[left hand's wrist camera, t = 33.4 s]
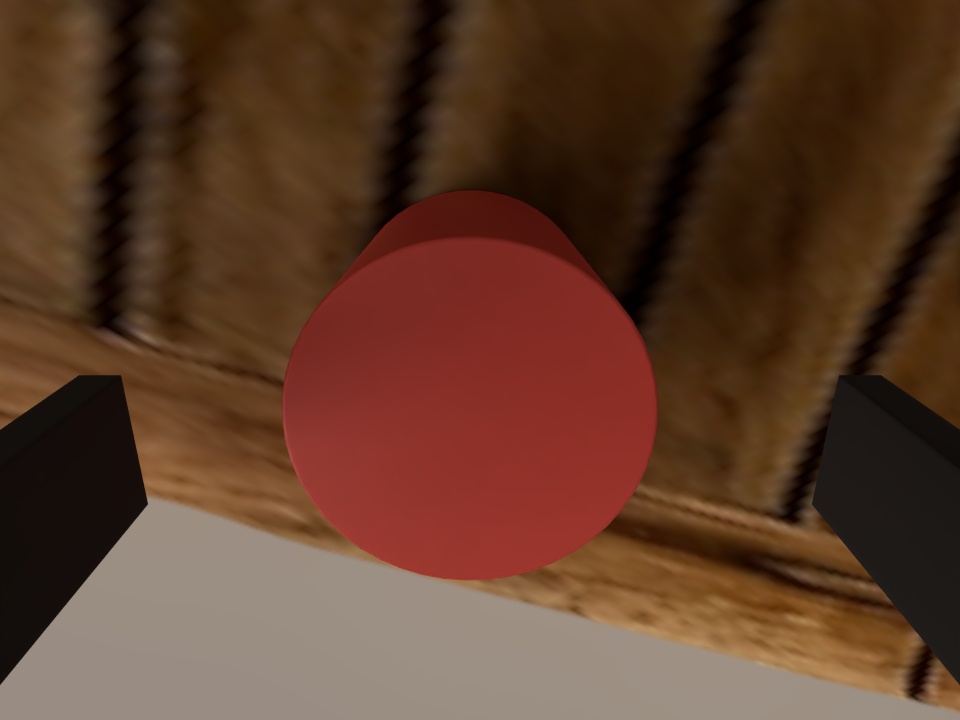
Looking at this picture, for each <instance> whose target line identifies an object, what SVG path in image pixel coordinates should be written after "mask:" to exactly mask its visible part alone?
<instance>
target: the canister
mask: <svg viewBox="0 0 960 720" xmlns="http://www.w3.org/2000/svg"><path fill="white" fill-rule="evenodd" d="M658 407H659V406H658V393H657V383H656V378H655V374H654V369H653V365H652V361H651V358H650V356H649V353H648V351H647V348H646V345H645V343H644V340H643V338H642V336H641V335H640V333H639V331H638V329H637V327H636V326H635V324H634V322H633V320H632V319H631V317H630V316H629V315H628V313H627V312H626V311H625V309H624V308H623V307H622V306H621V304H620V303H619V302H618V300H617V299H616V298H615V297H614V295H613V294H612V293H611V292H610V290H609V289H608V288H607V287H606V285H605V284H604V283H603V282H602V280H601V279H600V278H599V277H598V275H597V274H596V273H595V272H594V270H593V269H592V268H591V267H590V265H589V264H588V263H587V262H586V260H585V259H584V258H583V257H582V255H581V254H580V253H579V252H578V250H577V249H576V248H575V247H574V245H573V244H572V243H571V242H570V240H569V239H568V238H567V237H566V235H565V234H564V233H563V232H562V230H561V229H560V228H559V227H558V226H557V225H556V224H555V223H554V222H553V221H552V220H550V219H549V218H548V217H547V216H545V215H544V214H543V213H541V212H540V211H539V210H537V209H535V208H533V207H532V206H530V205H528V204H526V203H524V202H523V201H520V200H517V199H515V198H512V197H510V196H507V195H503V194H498V193H494V192H488V191H478V190H466V191H454V192H448V193H442V194H439V195H436V196H433V197H429V198H426V199H424V200H422V201H420V202H418V203H416V204H413V205H411V206H410V207H408V208H407V209H405V210H404V211H402V212H401V213H399V214H398V215H396V216H395V217H394V218H393V219H392V220H391V221H389V222H388V223H387V224H386V225H385V226H384V227H383V228H382V229H381V231H380V232H379V233H378V234H377V235H376V236H375V237H374V239H373V240H372V241H371V242H370V244H369V245H368V246H367V247H366V248H365V250H364V251H363V252H362V253H361V254H360V256H359V257H358V258H357V259H356V261H355V262H354V263H353V264H352V265H351V267H350V268H349V269H348V270H347V271H346V273H345V274H344V275H343V276H342V277H341V279H340V280H339V281H338V282H337V284H336V285H335V286H334V287H333V288H332V290H331V291H330V292H329V293H328V294H327V296H326V297H325V298H324V299H323V301H322V302H321V303H320V304H319V305H318V307H317V308H316V309H315V311H314V312H313V314H312V315H311V317H310V318H309V320H308V321H307V323H306V324H305V326H304V327H303V329H302V331H301V333H300V335H299V337H298V339H297V342H296V344H295V346H294V348H293V350H292V353H291V356H290V360H289V363H288V366H287V370H286V373H285V380H284V386H283V393H282V422H283V429H284V436H285V442H286V445H287V449H288V452H289V455H290V459H291V462H292V465H293V467H294V469H295V471H296V474H297V476H298V478H299V480H300V483H301V484H302V486H303V488H304V489H305V491H306V493H307V494H308V496H309V497H310V499H311V501H312V502H313V504H314V505H315V506H316V507H317V508H318V510H319V511H320V512H321V513H322V515H323V516H324V517H325V518H326V519H327V520H328V521H329V522H330V523H331V524H332V525H333V526H334V527H335V528H336V529H337V530H338V531H339V532H340V533H341V534H342V535H343V536H345V537H346V538H348V539H349V540H350V541H352V542H353V543H354V544H356V545H357V546H358V547H360V548H361V549H363V550H365V551H366V552H368V553H370V554H372V555H373V556H375V557H377V558H378V559H380V560H383V561H385V562H387V563H390V564H392V565H394V566H397V567H399V568H402V569H405V570H408V571H412V572H415V573H418V574H421V575H427V576H432V577H437V578H443V579H455V580H488V579H495V578H502V577H510V576H514V575H518V574H521V573H525V572H529V571H533V570H535V569H538V568H541V567H543V566H546V565H548V564H551V563H553V562H555V561H557V560H559V559H561V558H563V557H565V556H567V555H569V554H571V553H573V552H574V551H576V550H577V549H579V548H580V547H582V546H583V545H585V544H586V543H588V542H589V541H591V540H592V539H593V538H594V537H595V536H596V535H598V534H599V533H600V532H601V531H602V530H603V529H604V528H606V527H607V526H608V525H609V524H610V523H611V521H612V520H613V519H614V518H615V517H616V516H617V515H618V514H619V513H620V511H621V510H622V509H623V508H624V506H625V505H626V503H627V502H628V501H629V499H630V498H631V496H632V495H633V493H634V492H635V490H636V488H637V486H638V484H639V482H640V480H641V478H642V477H643V475H644V473H645V470H646V467H647V465H648V462H649V459H650V456H651V453H652V451H653V446H654V441H655V436H656V432H657V422H658Z"/></svg>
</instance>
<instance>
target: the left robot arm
mask: <svg viewBox="0 0 960 720" xmlns="http://www.w3.org/2000/svg"><path fill="white" fill-rule="evenodd" d="M147 505H148V502H147V497H146V492H145V488H144V483H143V478H142V473H141V468H140V464H139V459H138V454H137V449H136V445H135V440H134V435H133V430H132V426H131V421H130V416H129V411H128V407H127V402H126V397H125V392H124V388H123V383H122V378H121V375H79V376H77V377H76V378H75V379H73V380H72V381H70V382H69V383H67V384H66V385H64V386H63V387H62V388H60V389H59V390H57V391H56V392H54V393H53V394H51V395H50V396H48V397H47V398H46V399H44V400H43V401H41V402H40V403H38V404H37V405H35V406H34V407H33V408H31V409H30V410H28V411H27V412H25V413H24V414H22V415H21V416H20V417H18V418H17V419H15V420H14V421H12V422H11V423H9V424H8V425H7V426H5V427H4V428H2V429H1V430H0V685H1V683H2V682H3V681H4V680H5V678H6V677H7V676H8V675H9V673H10V672H11V671H12V670H13V669H14V667H15V666H16V665H17V664H18V663H19V661H20V660H21V659H22V658H23V656H24V655H25V654H26V653H27V651H28V650H29V649H30V648H31V647H32V645H33V644H34V643H35V642H36V640H37V639H38V638H39V637H40V636H41V634H42V633H43V632H44V631H45V629H46V628H47V627H48V626H49V625H50V623H51V622H52V621H53V620H54V618H55V617H56V616H57V615H58V614H59V612H60V611H61V610H62V609H63V607H64V606H65V605H66V604H67V603H68V601H69V600H70V599H71V598H72V597H73V595H74V594H75V593H76V592H77V590H78V589H79V588H80V587H81V585H82V584H83V583H84V582H85V581H86V579H87V578H88V577H89V576H90V575H91V573H92V572H93V571H94V570H95V568H96V567H97V566H98V565H99V564H100V562H101V561H102V560H103V559H104V557H105V556H106V555H107V554H108V552H109V551H110V550H111V549H112V548H113V546H114V545H115V544H116V543H117V541H118V540H119V539H120V538H121V537H122V535H123V534H124V533H125V532H126V531H127V529H128V528H129V527H130V526H131V524H132V523H133V522H134V521H135V519H136V518H137V517H138V516H139V515H140V513H141V512H142V511H143V510H144V508H145V507H146V506H147ZM812 505H813V506H814V507H815V508H816V510H817V511H818V512H819V513H820V515H821V516H822V517H823V518H824V519H825V521H826V522H827V523H828V524H829V526H830V527H831V528H832V529H833V531H834V532H835V533H836V534H837V535H838V537H839V538H840V539H841V540H842V542H843V543H844V544H845V545H846V546H847V548H848V549H849V550H850V551H851V553H852V554H853V555H854V556H855V557H856V559H857V560H858V561H859V562H860V564H861V565H862V566H863V567H864V568H865V570H866V571H867V572H868V573H869V575H870V576H871V577H872V578H873V579H874V581H875V582H876V583H877V584H878V586H879V587H880V588H881V589H882V590H883V592H884V593H885V594H886V595H887V597H888V598H889V599H890V600H891V601H892V603H893V604H894V605H895V606H896V608H897V609H898V610H899V611H900V612H901V614H902V615H903V616H904V617H905V619H906V620H907V621H908V622H909V623H910V625H911V626H912V627H913V628H914V630H915V631H916V632H917V633H918V634H919V636H920V637H921V638H922V639H923V641H924V642H925V643H926V644H927V645H928V647H929V648H930V649H931V650H932V652H933V653H934V654H935V655H936V656H937V658H938V659H939V660H940V661H941V663H942V664H943V665H944V666H945V667H946V669H947V670H948V671H949V672H950V674H951V675H952V676H953V677H954V678H955V680H956V681H957V682H958V683H959V685H960V430H959V429H958V428H956V427H955V426H953V425H952V424H951V423H949V422H948V421H946V420H945V419H943V418H942V417H940V416H939V415H938V414H936V413H935V412H933V411H932V410H930V409H929V408H927V407H926V406H925V405H923V404H922V403H920V402H919V401H917V400H916V399H914V398H913V397H912V396H910V395H909V394H907V393H906V392H904V391H903V390H901V389H900V388H898V387H897V386H896V385H894V384H893V383H891V382H890V381H888V380H887V379H885V378H884V377H883V376H881V375H839V378H838V383H837V388H836V392H835V397H834V402H833V407H832V411H831V416H830V421H829V426H828V430H827V435H826V440H825V445H824V449H823V454H822V459H821V464H820V468H819V473H818V478H817V483H816V488H815V492H814V497H813V502H812Z"/></svg>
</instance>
